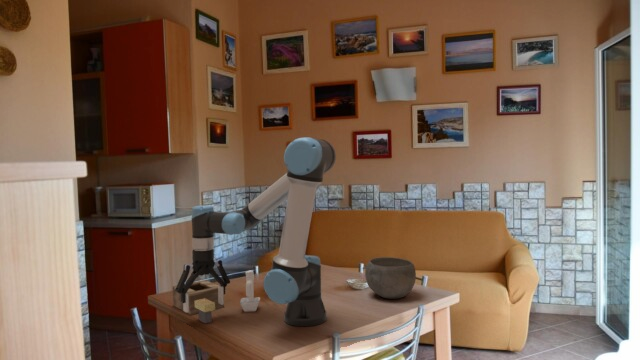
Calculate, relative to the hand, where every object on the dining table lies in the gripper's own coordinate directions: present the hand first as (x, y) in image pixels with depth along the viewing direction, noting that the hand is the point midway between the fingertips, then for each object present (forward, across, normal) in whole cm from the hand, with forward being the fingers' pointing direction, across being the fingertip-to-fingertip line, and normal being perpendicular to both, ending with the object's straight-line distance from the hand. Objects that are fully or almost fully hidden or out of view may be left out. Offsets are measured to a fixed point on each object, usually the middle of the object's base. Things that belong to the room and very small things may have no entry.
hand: (203, 307), depth 164 cm
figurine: (+5, -19, 0) cm, 20 cm away
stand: (+5, 0, 0) cm, 5 cm away
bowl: (+4, -71, +26) cm, 76 cm away
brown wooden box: (+5, -6, -18) cm, 19 cm away
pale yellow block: (0, 0, 0) cm, 1 cm away
